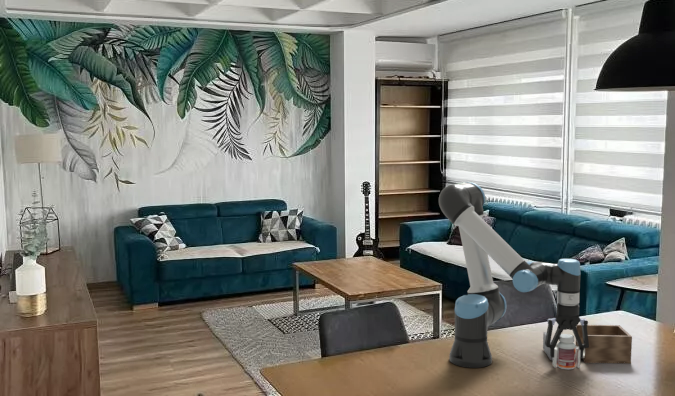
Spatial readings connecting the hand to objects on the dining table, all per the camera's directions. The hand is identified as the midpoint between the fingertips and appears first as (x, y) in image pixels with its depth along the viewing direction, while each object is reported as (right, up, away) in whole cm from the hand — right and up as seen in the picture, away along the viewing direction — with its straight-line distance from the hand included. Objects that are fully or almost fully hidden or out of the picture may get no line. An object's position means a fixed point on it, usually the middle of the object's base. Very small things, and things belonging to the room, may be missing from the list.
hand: (566, 366), depth 253 cm
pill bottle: (0, 0, 0) cm, 1 cm away
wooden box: (+17, +1, +11) cm, 20 cm away
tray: (+5, +2, +12) cm, 13 cm away
